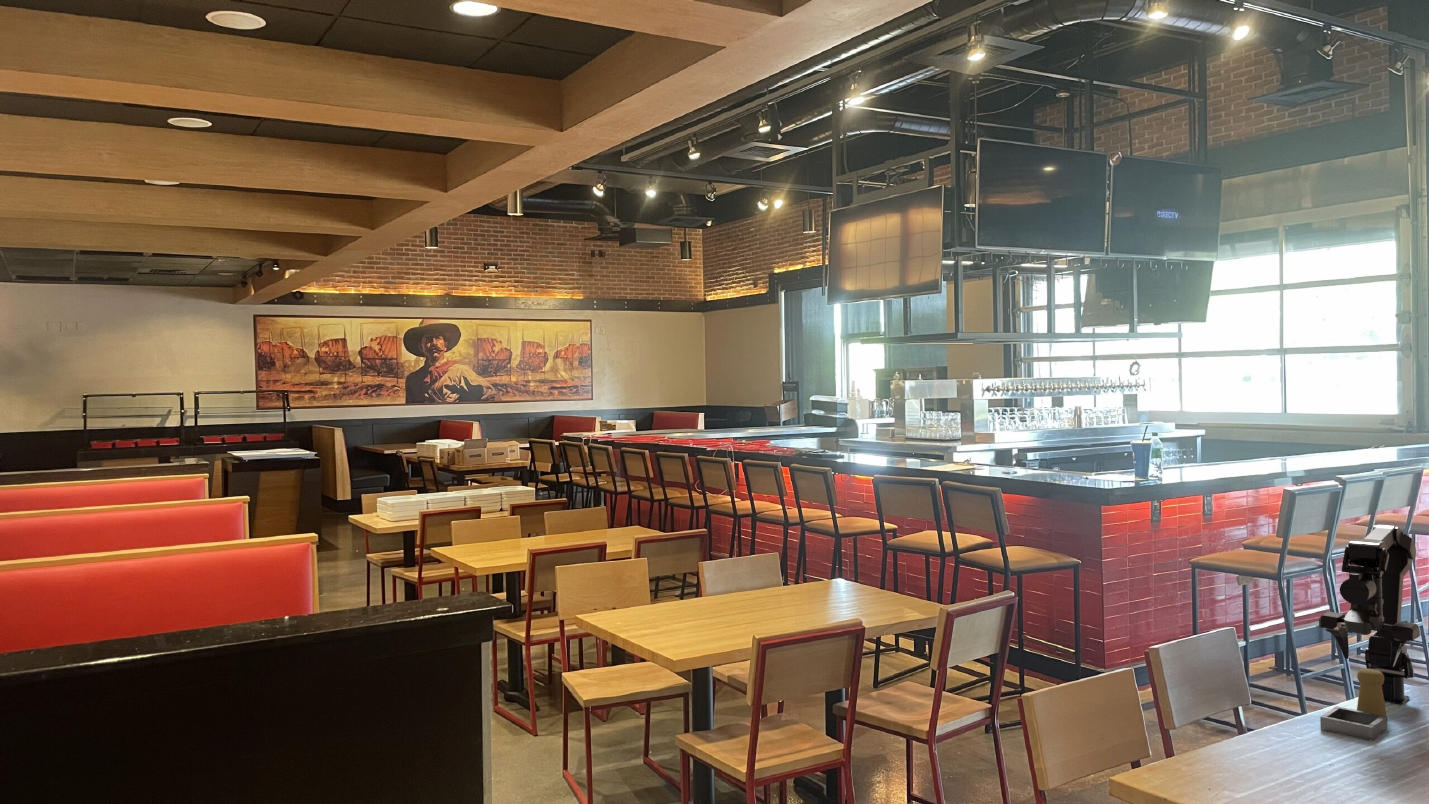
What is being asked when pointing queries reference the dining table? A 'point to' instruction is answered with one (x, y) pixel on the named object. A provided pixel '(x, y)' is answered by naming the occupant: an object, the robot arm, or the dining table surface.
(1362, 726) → the socket frame
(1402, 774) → the dining table surface
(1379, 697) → the cork
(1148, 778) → the dining table surface
